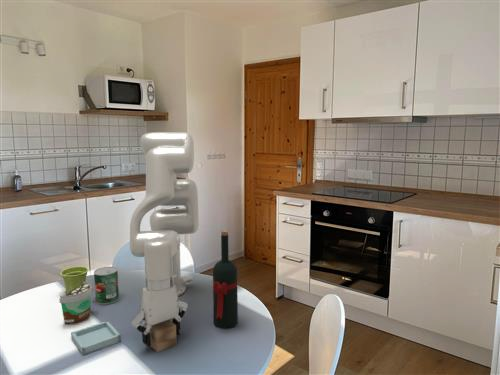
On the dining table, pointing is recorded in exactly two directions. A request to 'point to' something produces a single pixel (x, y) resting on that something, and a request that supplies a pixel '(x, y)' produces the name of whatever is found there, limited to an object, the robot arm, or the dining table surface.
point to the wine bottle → (225, 289)
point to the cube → (163, 335)
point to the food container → (77, 304)
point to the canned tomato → (106, 285)
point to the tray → (95, 337)
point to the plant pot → (74, 277)
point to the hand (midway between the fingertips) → (162, 338)
